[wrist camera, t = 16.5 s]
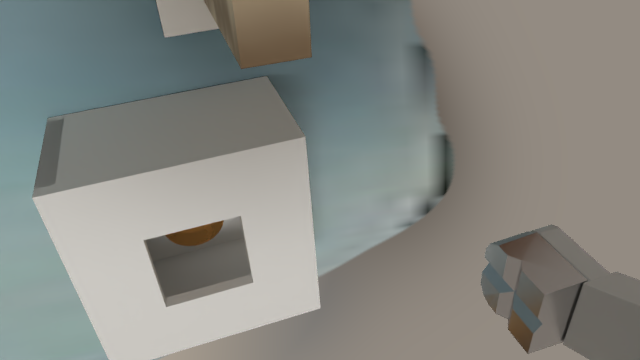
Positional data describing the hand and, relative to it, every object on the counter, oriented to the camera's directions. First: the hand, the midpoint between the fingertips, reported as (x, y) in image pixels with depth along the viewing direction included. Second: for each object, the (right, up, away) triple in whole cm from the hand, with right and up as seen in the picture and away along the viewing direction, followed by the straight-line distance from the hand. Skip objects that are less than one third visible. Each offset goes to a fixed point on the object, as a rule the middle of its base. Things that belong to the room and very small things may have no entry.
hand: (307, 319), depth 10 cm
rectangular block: (-5, +15, +20) cm, 26 cm away
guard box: (-10, +3, +28) cm, 29 cm away
